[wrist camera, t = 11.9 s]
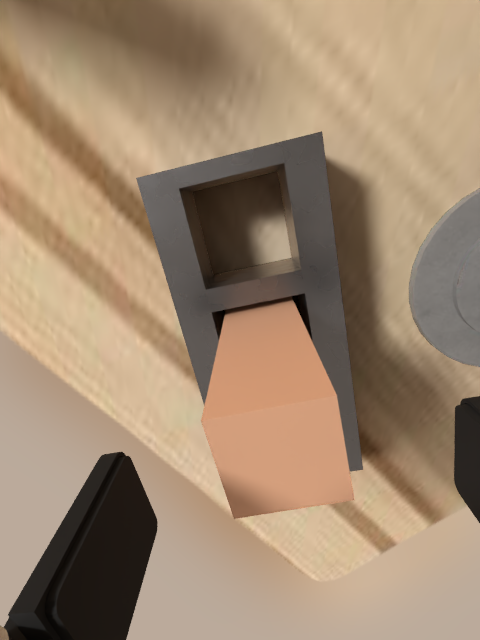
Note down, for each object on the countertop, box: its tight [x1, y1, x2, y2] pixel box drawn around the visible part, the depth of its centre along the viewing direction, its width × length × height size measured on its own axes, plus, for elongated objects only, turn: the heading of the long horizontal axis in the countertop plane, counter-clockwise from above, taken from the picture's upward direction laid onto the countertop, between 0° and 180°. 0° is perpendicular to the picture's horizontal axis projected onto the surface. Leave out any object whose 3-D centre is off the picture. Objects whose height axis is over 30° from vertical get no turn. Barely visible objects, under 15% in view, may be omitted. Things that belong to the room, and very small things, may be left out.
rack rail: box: [136, 132, 363, 471], centre depth 20 cm, size 9×20×4 cm, turn 13°
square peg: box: [201, 296, 354, 519], centre depth 16 cm, size 4×4×13 cm
